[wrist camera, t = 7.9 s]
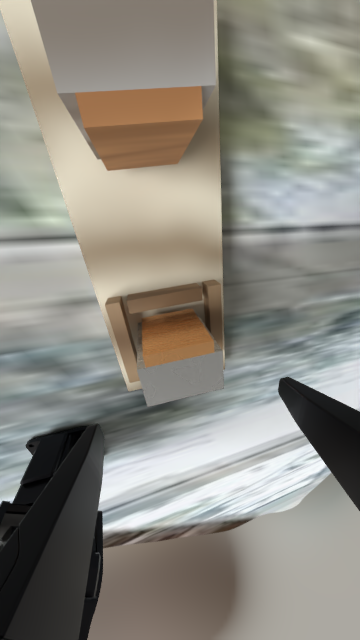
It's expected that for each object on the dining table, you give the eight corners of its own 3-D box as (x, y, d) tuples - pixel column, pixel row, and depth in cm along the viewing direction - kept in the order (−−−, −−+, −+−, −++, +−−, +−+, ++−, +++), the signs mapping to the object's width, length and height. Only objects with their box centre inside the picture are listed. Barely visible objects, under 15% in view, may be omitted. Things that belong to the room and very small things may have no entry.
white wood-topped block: (198, 340, 18) (223, 388, 12) (145, 352, 17) (147, 406, 12) (194, 303, 16) (222, 339, 11) (135, 314, 15) (133, 358, 10)
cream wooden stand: (219, 360, 21) (256, 420, 15) (129, 380, 20) (124, 455, 13) (206, 16, 11) (321, -352, 4) (12, 18, 9) (-299, -499, 3)
